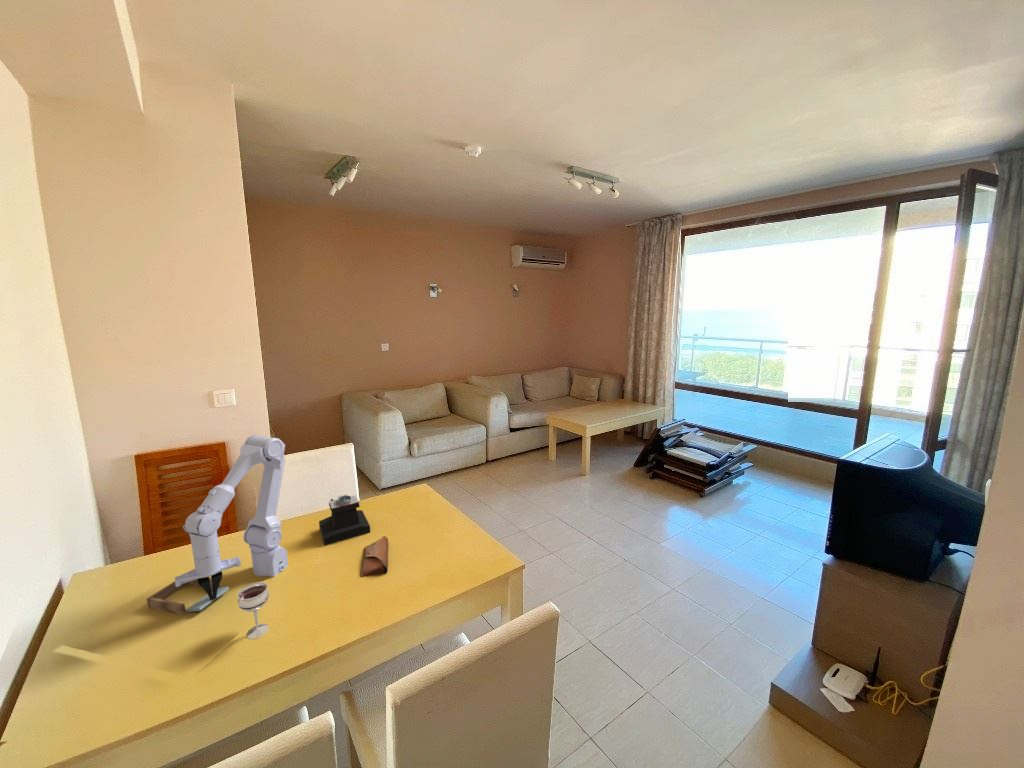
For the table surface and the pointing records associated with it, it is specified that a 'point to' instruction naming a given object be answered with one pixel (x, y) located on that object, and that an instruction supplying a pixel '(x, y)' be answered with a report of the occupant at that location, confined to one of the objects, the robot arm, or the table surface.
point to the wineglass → (254, 605)
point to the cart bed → (170, 606)
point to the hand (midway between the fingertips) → (212, 597)
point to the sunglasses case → (375, 558)
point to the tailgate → (206, 600)
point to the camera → (343, 520)
